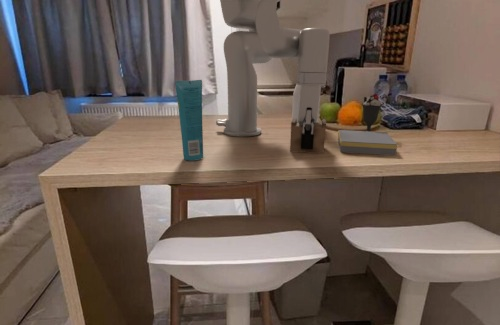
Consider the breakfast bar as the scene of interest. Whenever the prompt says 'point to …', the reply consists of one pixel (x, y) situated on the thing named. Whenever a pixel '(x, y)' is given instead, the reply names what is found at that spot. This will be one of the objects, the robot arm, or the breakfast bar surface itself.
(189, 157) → the tube
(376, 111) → the sundae
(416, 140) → the breakfast bar surface
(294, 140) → the brown open box
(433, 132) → the breakfast bar surface
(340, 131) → the dock
